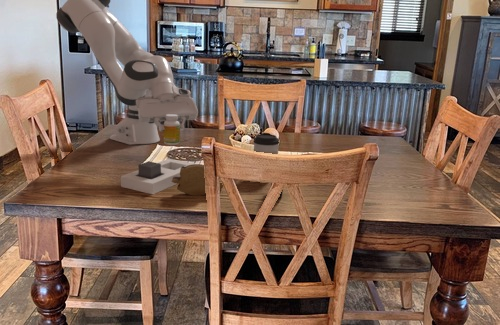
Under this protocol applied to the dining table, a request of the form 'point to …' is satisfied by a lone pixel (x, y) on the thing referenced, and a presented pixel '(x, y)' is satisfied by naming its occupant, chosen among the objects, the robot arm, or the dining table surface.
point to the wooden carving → (192, 180)
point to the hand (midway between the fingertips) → (172, 130)
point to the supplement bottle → (171, 130)
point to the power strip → (153, 176)
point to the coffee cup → (266, 143)
